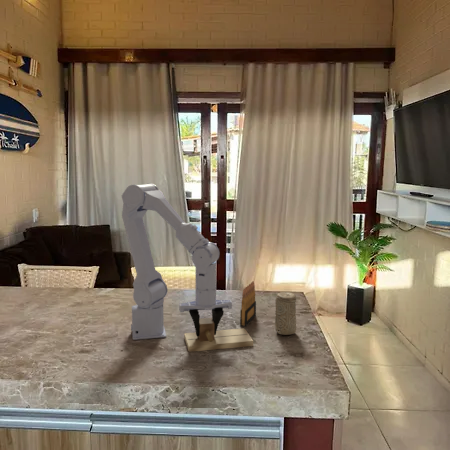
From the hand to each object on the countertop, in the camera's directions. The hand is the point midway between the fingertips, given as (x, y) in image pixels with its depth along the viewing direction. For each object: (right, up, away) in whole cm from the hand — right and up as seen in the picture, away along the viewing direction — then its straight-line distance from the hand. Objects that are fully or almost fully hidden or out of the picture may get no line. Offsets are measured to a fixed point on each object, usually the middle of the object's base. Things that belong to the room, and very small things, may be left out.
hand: (205, 334), depth 118 cm
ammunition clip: (+13, 0, +18) cm, 22 cm away
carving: (+23, -2, +8) cm, 25 cm away
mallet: (+1, -1, -2) cm, 3 cm away
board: (+3, -3, +1) cm, 4 cm away
